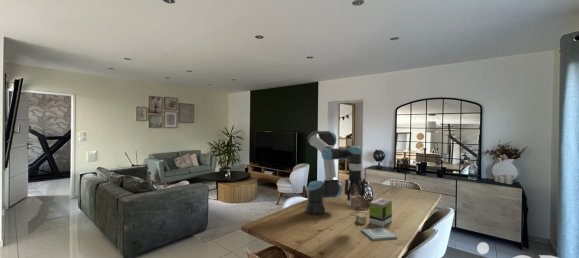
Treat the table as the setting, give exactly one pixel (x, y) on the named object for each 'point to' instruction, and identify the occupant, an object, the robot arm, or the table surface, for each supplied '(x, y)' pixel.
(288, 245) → the table surface
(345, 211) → the table surface
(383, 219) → the tea box
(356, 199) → the walnut cube
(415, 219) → the table surface
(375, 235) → the board
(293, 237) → the table surface
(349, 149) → the robot arm
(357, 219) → the oak cube
